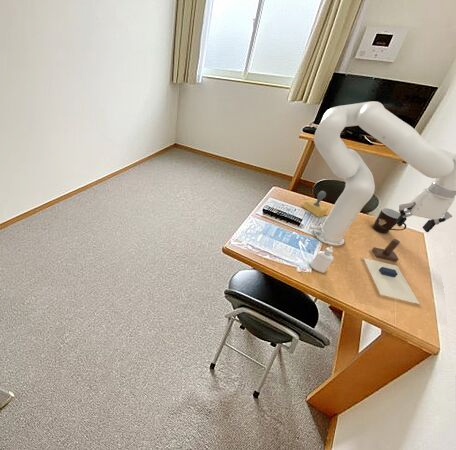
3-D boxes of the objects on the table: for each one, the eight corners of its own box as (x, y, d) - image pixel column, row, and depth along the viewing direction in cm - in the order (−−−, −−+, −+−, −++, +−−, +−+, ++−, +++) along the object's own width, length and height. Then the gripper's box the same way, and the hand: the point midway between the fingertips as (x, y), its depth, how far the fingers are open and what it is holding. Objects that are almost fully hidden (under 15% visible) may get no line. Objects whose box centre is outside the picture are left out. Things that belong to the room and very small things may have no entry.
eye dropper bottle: (319, 274, 107) (333, 253, 100) (308, 264, 111) (321, 243, 104) (327, 272, 109) (342, 250, 101) (315, 262, 113) (329, 241, 105)
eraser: (381, 274, 109) (383, 271, 108) (378, 270, 111) (381, 266, 110) (394, 277, 108) (397, 274, 107) (392, 273, 110) (395, 269, 109)
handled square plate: (374, 259, 118) (388, 242, 112) (370, 251, 121) (383, 235, 115) (394, 263, 116) (409, 247, 110) (390, 255, 120) (404, 239, 114)
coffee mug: (366, 223, 139) (377, 207, 133) (382, 224, 139) (395, 208, 133) (380, 238, 130) (393, 221, 124) (397, 239, 130) (411, 223, 124)
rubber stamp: (302, 206, 147) (311, 187, 139) (309, 204, 149) (319, 185, 142) (318, 217, 140) (329, 197, 132) (325, 214, 142) (336, 195, 135)
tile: (379, 296, 101) (380, 294, 101) (362, 259, 117) (363, 258, 116) (418, 305, 99) (420, 304, 98) (395, 267, 114) (397, 265, 114)
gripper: (464, 190, 99) (430, 226, 110) (411, 180, 102) (383, 217, 113) (477, 200, 93) (440, 238, 104) (420, 190, 96) (391, 227, 107)
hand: (411, 227), depth 108 cm, fingers open, 9 cm apart
